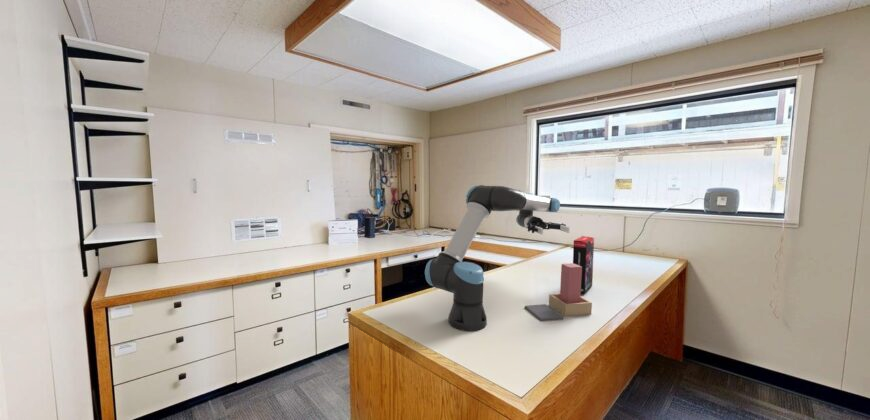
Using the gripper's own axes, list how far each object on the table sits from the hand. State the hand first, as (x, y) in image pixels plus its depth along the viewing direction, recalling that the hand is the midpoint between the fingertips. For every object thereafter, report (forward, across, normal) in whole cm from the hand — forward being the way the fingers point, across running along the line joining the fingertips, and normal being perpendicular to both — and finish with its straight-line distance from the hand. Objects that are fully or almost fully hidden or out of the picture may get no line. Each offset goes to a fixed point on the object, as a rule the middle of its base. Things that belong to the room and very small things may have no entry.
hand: (555, 230), depth 155 cm
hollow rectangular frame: (+13, 0, -33) cm, 36 cm away
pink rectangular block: (+13, 0, -33) cm, 36 cm away
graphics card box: (-10, -22, -35) cm, 43 cm away
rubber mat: (+16, +14, -33) cm, 39 cm away
